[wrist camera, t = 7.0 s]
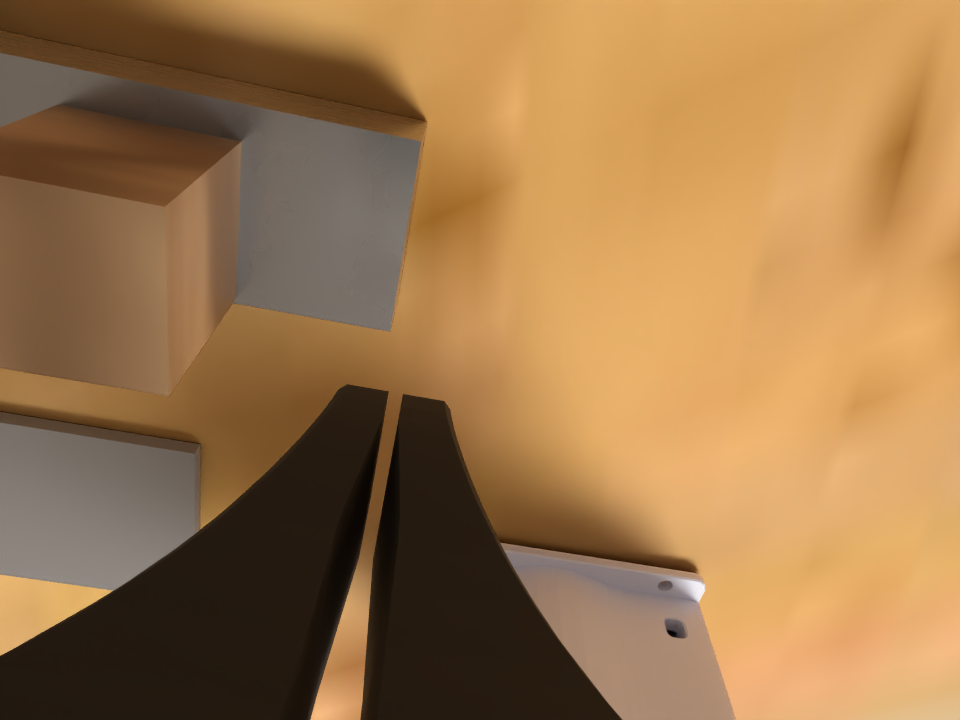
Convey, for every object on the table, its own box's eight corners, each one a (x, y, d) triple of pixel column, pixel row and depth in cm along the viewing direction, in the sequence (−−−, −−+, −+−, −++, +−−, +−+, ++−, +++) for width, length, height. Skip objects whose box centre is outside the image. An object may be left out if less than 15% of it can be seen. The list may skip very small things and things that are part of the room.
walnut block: (241, 141, 16) (165, 206, 12) (236, 297, 18) (169, 395, 14) (57, 103, 16) (-81, 159, 12) (73, 268, 18) (-41, 361, 14)
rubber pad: (200, 444, 23) (195, 453, 23) (199, 590, 27) (194, 601, 26) (-27, 407, 22) (-37, 416, 22) (2, 562, 26) (-6, 573, 25)
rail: (437, 58, 17) (427, 84, 14) (390, 343, 21) (375, 410, 18) (-415, -132, 15) (-636, -148, 12) (-289, 219, 19) (-433, 272, 16)
